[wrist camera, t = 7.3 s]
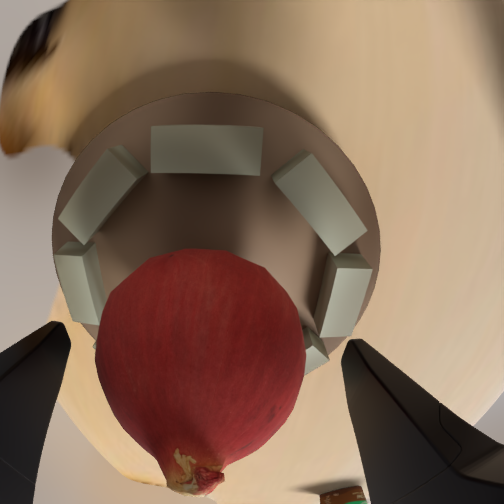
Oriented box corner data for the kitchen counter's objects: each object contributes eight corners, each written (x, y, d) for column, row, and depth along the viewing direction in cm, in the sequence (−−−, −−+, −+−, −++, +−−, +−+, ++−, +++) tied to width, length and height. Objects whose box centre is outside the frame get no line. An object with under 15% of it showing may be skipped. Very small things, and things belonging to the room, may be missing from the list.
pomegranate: (271, 339, 12) (300, 514, 5) (144, 331, 12) (101, 500, 5) (294, 216, 10) (403, 429, 3) (130, 205, 9) (-14, 391, 2)
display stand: (385, 119, 10) (428, 124, 7) (327, 364, 16) (340, 405, 13) (62, 110, 9) (17, 114, 6) (104, 353, 15) (88, 391, 12)
